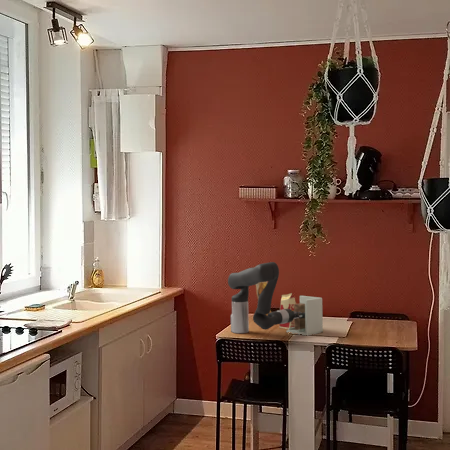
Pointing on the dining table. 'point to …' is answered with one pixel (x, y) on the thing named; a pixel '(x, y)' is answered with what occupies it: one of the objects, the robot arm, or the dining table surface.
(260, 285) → the pancake mix bag
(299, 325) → the brown wooden block
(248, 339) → the dining table surface
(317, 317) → the cabinet frame
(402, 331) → the dining table surface
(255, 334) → the dining table surface
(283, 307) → the red cream food bag
